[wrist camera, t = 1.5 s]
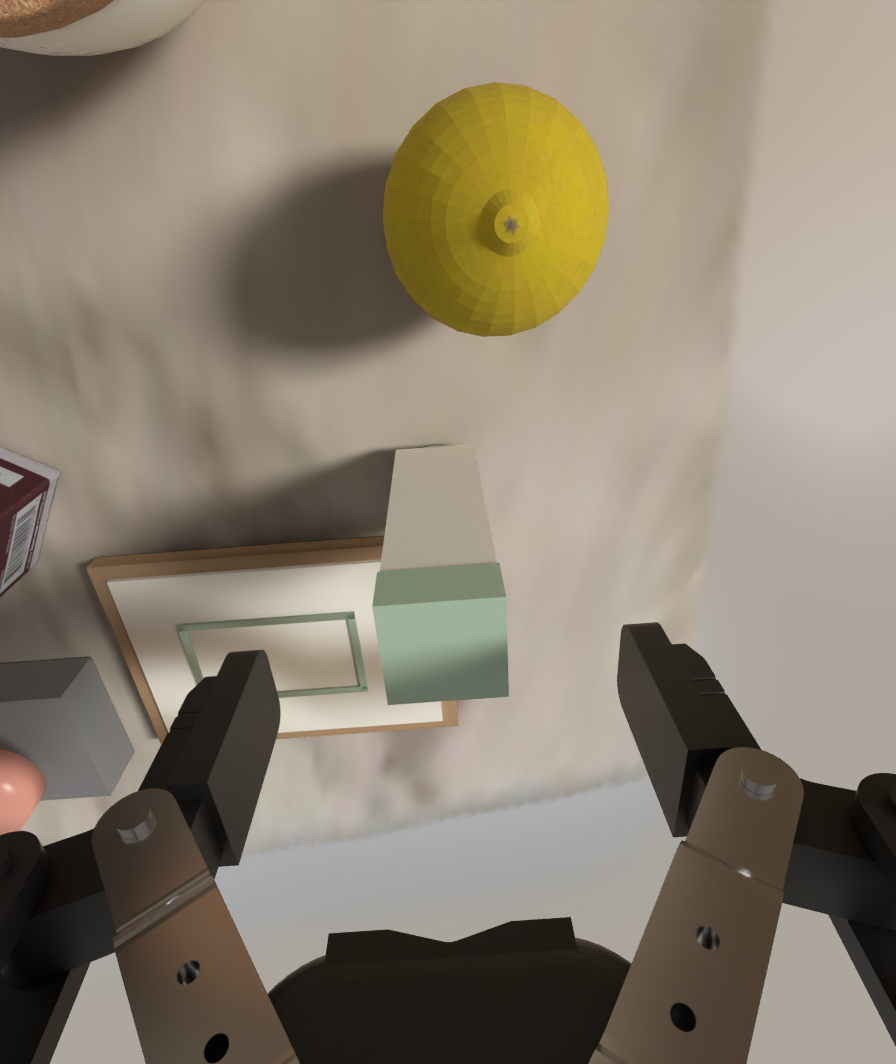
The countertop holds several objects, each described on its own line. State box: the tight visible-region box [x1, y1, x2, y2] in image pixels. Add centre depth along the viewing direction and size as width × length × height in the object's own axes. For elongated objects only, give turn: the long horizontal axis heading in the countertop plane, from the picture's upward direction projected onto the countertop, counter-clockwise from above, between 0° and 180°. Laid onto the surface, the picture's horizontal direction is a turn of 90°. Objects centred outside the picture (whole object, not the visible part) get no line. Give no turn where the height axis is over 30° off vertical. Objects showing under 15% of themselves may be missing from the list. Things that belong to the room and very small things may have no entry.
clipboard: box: [86, 536, 458, 745], centre depth 26 cm, size 10×14×1 cm
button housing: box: [0, 657, 134, 801], centre depth 27 cm, size 6×6×2 cm
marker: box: [372, 444, 509, 705], centre depth 18 cm, size 3×3×10 cm
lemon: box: [382, 82, 609, 337], centre depth 15 cm, size 6×6×8 cm
